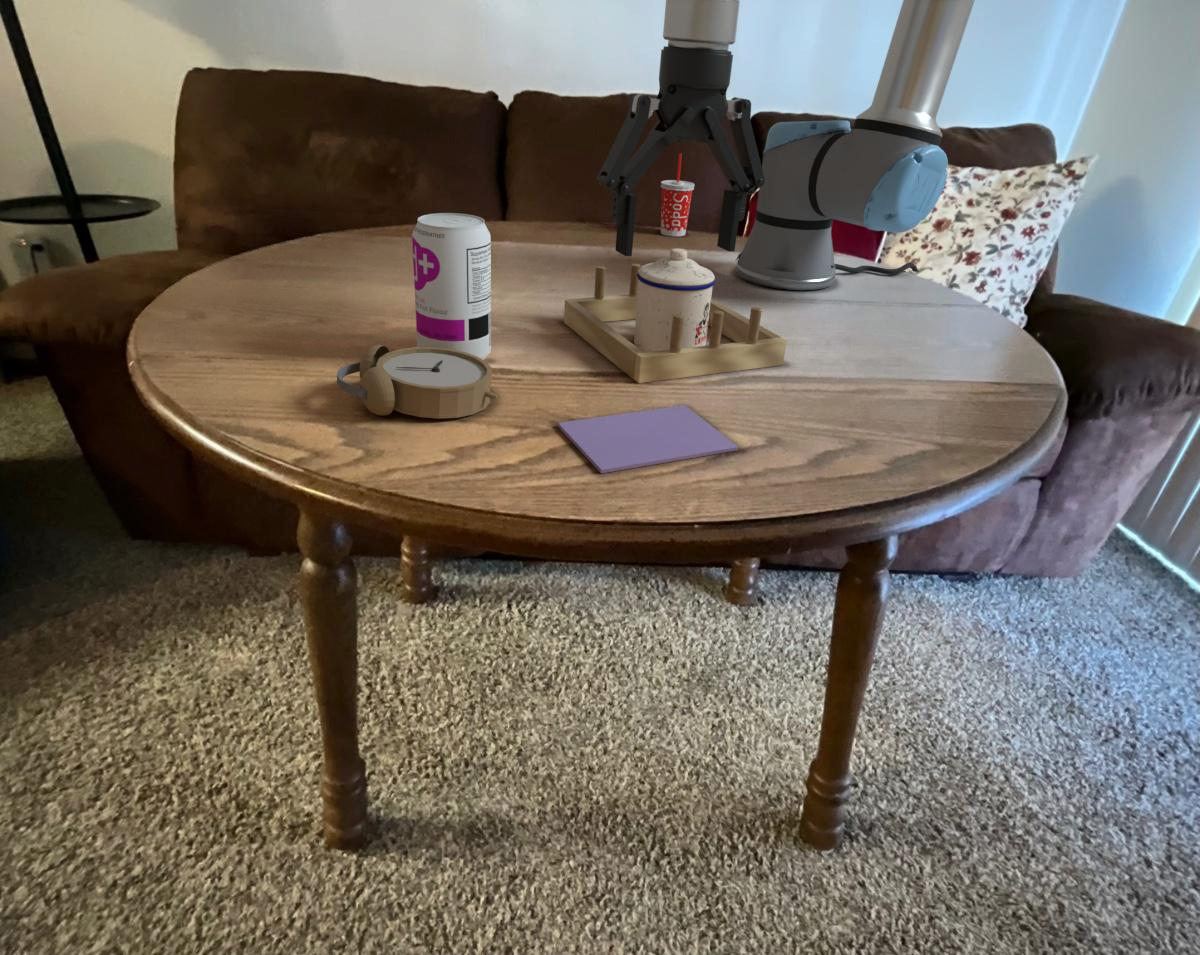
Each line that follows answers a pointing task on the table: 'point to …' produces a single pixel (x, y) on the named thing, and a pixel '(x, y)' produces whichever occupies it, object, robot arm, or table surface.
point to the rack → (672, 337)
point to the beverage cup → (675, 205)
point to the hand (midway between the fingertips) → (675, 251)
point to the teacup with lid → (672, 302)
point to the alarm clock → (420, 382)
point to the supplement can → (453, 282)
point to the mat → (645, 438)
